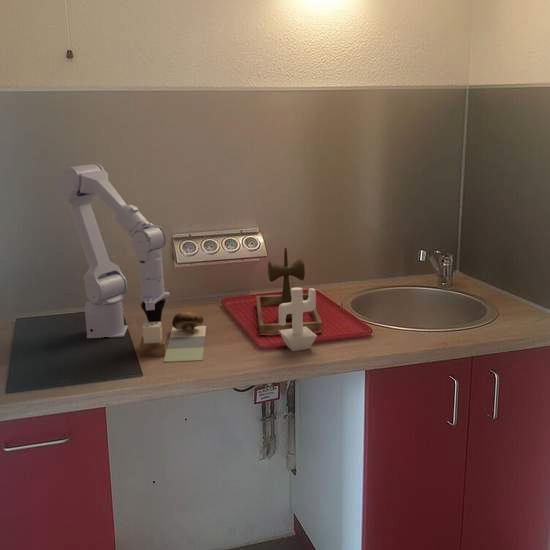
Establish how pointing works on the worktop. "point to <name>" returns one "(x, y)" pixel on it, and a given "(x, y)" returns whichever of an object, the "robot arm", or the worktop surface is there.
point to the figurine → (297, 320)
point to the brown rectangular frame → (275, 328)
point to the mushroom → (187, 321)
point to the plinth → (153, 348)
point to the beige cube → (152, 332)
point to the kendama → (286, 277)
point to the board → (185, 345)
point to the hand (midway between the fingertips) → (155, 329)
